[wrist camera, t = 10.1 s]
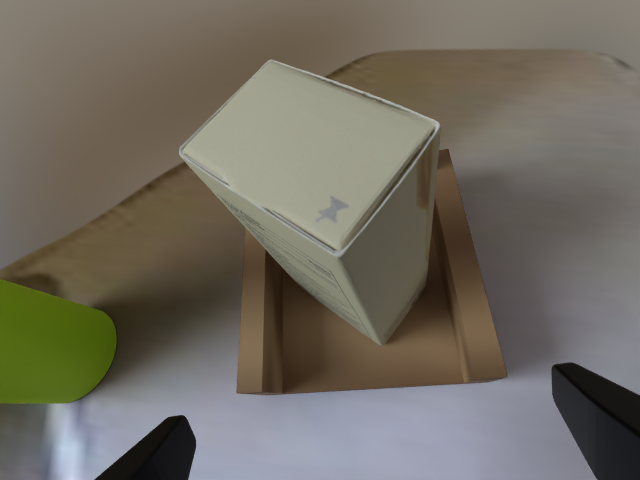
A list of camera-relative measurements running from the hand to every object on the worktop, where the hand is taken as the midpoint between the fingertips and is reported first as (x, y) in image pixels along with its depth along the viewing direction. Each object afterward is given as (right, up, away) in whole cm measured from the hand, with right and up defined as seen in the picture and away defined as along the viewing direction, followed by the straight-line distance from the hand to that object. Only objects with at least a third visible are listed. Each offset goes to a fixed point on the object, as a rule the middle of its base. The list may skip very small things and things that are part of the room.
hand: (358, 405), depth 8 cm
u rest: (+1, +1, +12) cm, 12 cm away
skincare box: (+1, +1, +12) cm, 12 cm away
